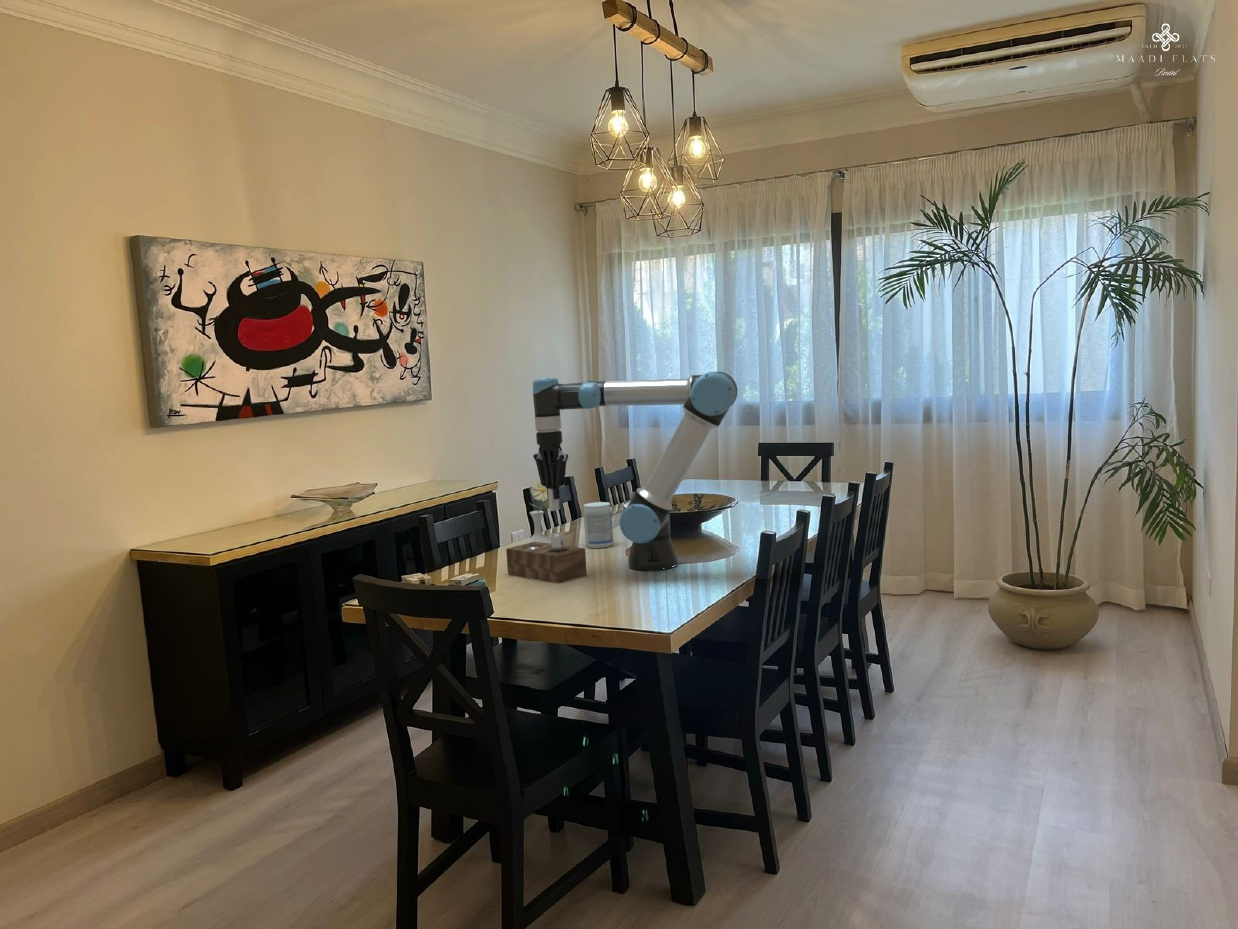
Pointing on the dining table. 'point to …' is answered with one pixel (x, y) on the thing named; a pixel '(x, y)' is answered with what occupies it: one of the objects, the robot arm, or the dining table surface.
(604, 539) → the supplement tub
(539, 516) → the flower in vase
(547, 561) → the block
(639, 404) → the robot arm
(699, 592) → the dining table surface
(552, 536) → the peg near
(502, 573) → the dining table surface
